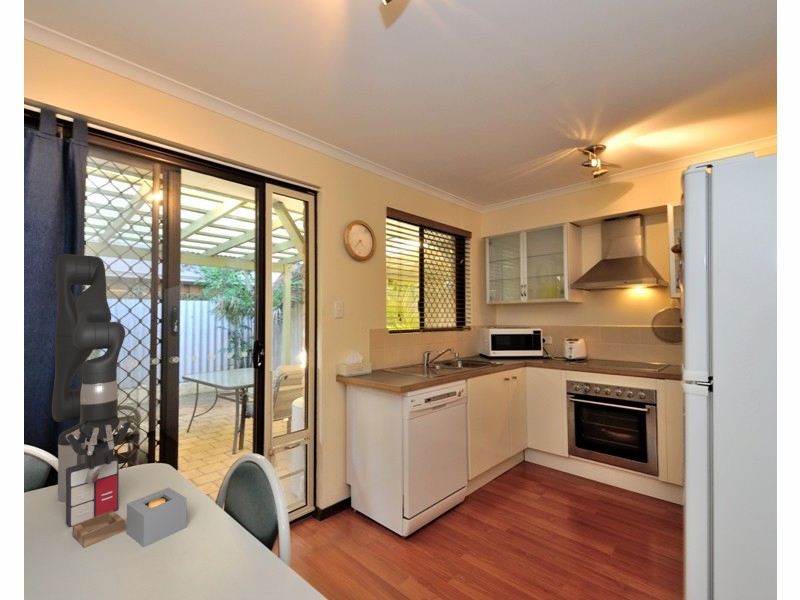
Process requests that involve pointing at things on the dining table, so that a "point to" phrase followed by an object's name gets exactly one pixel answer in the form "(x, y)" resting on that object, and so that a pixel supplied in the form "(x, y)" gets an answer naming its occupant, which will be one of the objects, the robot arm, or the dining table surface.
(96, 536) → the wooden square frame
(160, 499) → the button
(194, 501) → the dining table surface
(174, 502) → the guard box
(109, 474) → the calculator
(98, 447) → the stylus
